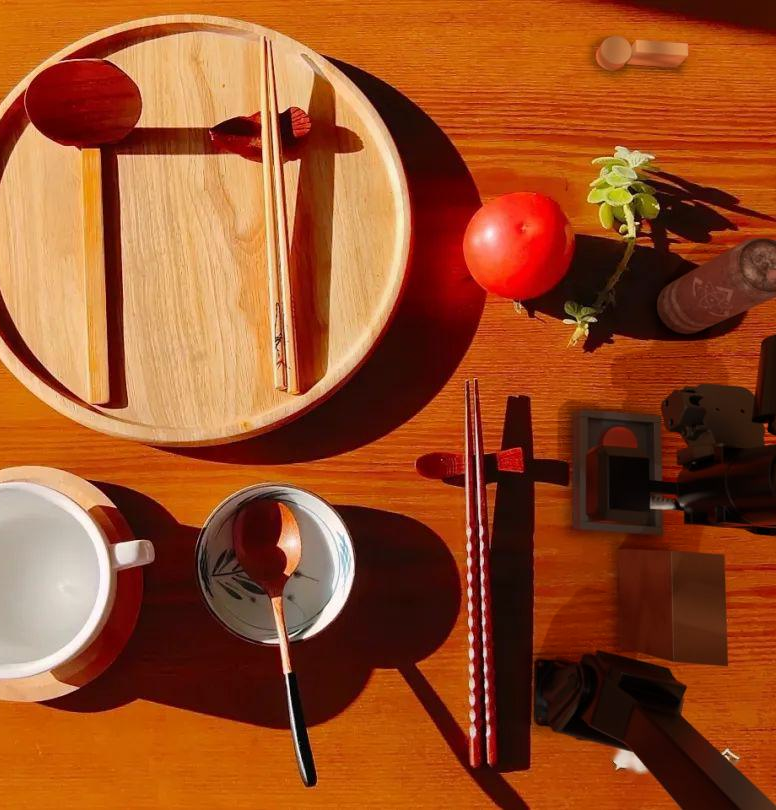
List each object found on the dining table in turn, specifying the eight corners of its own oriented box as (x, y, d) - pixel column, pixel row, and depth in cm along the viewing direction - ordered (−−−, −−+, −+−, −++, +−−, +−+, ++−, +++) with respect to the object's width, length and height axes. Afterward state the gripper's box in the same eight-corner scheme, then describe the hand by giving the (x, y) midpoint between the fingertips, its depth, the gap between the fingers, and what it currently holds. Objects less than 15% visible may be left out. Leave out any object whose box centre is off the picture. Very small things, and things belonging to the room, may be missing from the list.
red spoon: (631, 519, 81) (643, 518, 79) (597, 516, 81) (608, 516, 79) (630, 429, 83) (642, 426, 80) (597, 427, 83) (608, 423, 80)
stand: (666, 650, 79) (728, 666, 69) (618, 646, 79) (673, 662, 69) (664, 552, 81) (724, 554, 71) (617, 548, 81) (671, 550, 71)
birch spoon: (676, 48, 91) (688, 35, 89) (676, 75, 91) (688, 63, 88) (595, 42, 91) (605, 29, 89) (595, 69, 91) (605, 57, 88)
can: (708, 340, 85) (801, 302, 71) (651, 329, 85) (733, 288, 71) (713, 289, 86) (806, 241, 72) (657, 278, 86) (738, 228, 72)
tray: (653, 535, 81) (663, 535, 79) (572, 529, 81) (580, 528, 79) (651, 418, 83) (661, 415, 81) (572, 412, 83) (580, 409, 81)
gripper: (884, 389, 58) (746, 422, 73) (636, 368, 58) (550, 405, 73) (895, 539, 56) (750, 540, 71) (637, 517, 56) (549, 523, 71)
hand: (649, 498), depth 71 cm, fingers open, 9 cm apart
